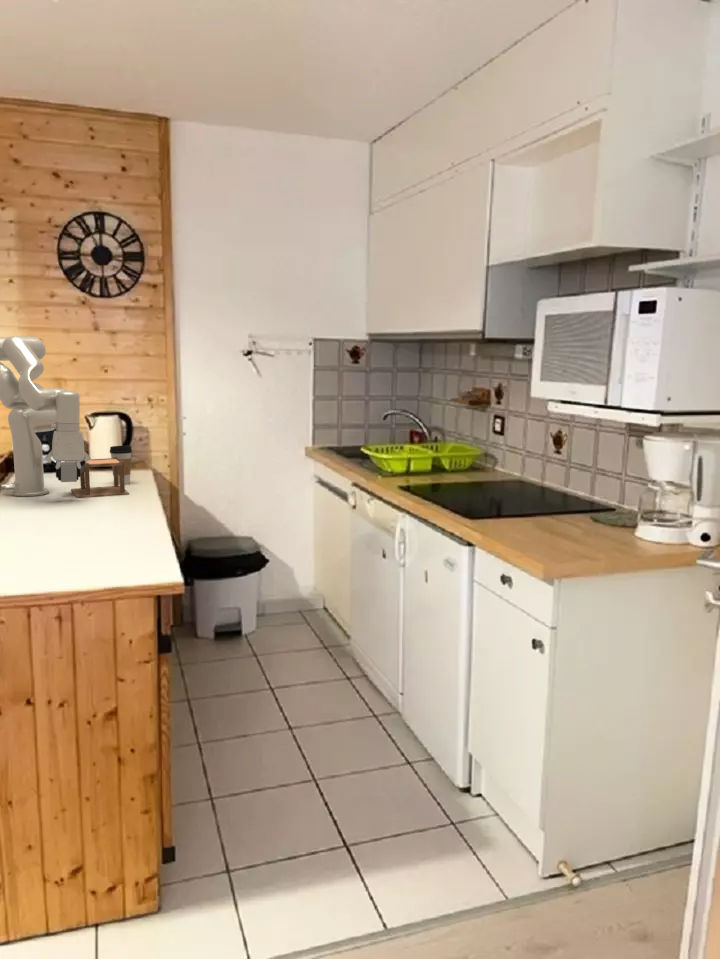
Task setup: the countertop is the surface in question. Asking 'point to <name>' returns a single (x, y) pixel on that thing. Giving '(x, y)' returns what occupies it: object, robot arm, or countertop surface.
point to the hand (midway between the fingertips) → (68, 478)
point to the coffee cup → (123, 455)
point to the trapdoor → (97, 462)
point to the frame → (101, 491)
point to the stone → (68, 472)
